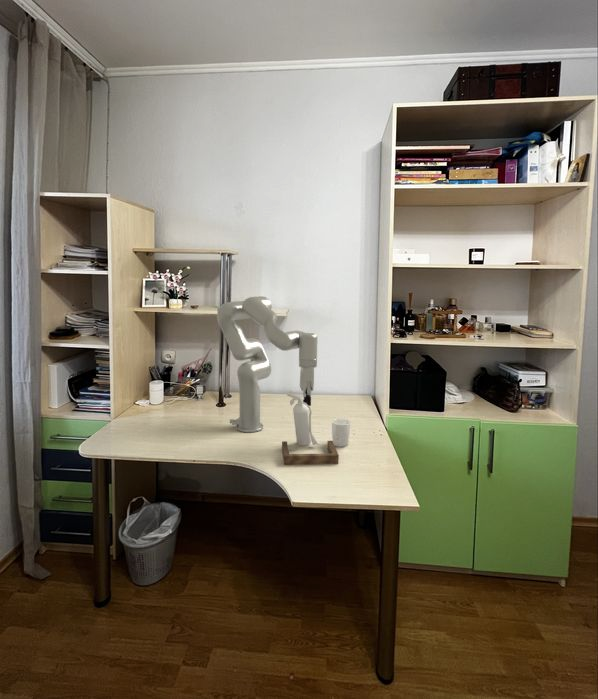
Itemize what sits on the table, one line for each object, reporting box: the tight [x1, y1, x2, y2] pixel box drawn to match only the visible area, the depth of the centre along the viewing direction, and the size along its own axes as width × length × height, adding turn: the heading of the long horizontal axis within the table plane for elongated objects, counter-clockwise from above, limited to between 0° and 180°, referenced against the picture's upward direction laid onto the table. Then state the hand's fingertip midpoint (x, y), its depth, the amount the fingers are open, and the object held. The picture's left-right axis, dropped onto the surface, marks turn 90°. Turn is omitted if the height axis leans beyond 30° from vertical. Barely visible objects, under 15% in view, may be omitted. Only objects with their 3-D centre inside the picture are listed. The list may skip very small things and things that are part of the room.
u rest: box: [281, 440, 340, 466], centre depth 184 cm, size 21×15×4 cm
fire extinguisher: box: [286, 390, 319, 447], centre depth 190 cm, size 7×12×25 cm, turn 53°
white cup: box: [331, 418, 351, 448], centre depth 197 cm, size 8×8×10 cm
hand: (306, 405), depth 194 cm, fingers closed
